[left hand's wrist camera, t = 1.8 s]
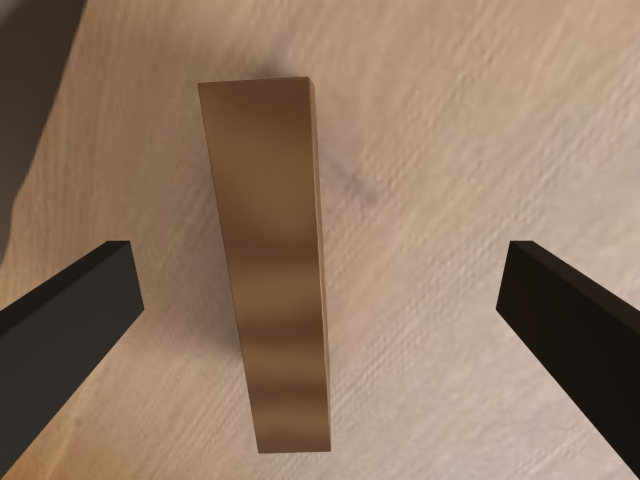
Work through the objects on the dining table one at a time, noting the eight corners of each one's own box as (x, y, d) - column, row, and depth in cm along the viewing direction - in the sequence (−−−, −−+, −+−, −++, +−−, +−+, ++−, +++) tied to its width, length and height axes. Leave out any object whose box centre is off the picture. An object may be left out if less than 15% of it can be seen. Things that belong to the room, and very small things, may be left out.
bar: (239, 88, 24) (197, 83, 16) (314, 84, 24) (309, 76, 16) (274, 366, 32) (258, 453, 24) (329, 364, 32) (331, 452, 24)
